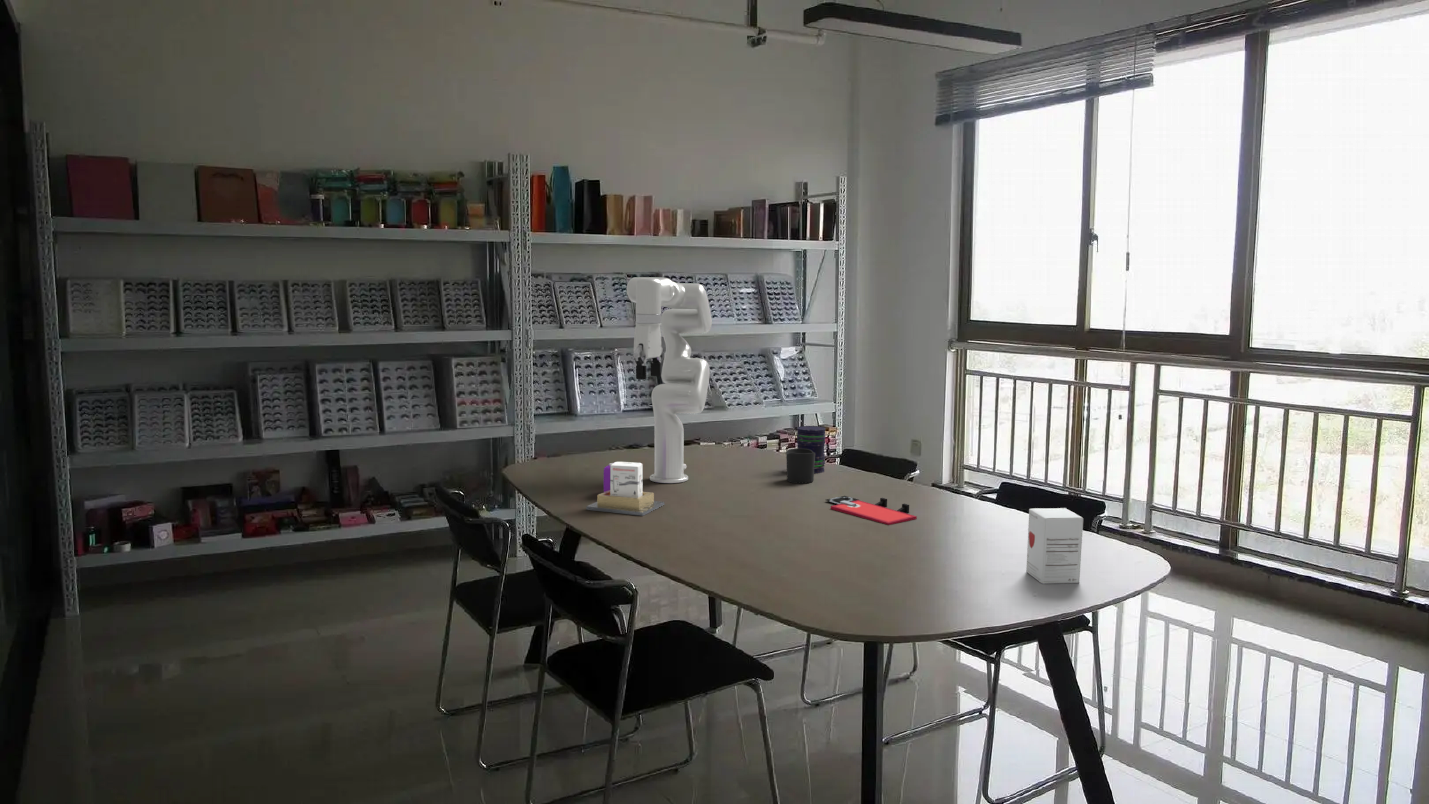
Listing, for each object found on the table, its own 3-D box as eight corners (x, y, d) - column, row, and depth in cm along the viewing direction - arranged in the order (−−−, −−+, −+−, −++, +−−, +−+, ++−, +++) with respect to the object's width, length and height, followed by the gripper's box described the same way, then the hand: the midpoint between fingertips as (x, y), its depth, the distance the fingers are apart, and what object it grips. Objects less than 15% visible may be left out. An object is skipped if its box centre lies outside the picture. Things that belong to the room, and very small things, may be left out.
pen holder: (819, 480, 321) (820, 450, 320) (806, 485, 313) (807, 454, 312) (794, 477, 326) (794, 447, 325) (780, 481, 318) (781, 451, 317)
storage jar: (797, 467, 342) (797, 425, 341) (825, 468, 341) (826, 426, 339) (795, 473, 333) (796, 429, 331) (824, 473, 331) (825, 430, 329)
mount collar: (609, 499, 291) (609, 486, 291) (664, 505, 285) (664, 491, 284) (586, 509, 279) (586, 496, 278) (642, 515, 272) (642, 501, 271)
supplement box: (1024, 571, 223) (1027, 507, 221) (1062, 571, 223) (1066, 507, 222) (1041, 584, 214) (1044, 517, 212) (1080, 583, 214) (1084, 517, 213)
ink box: (609, 504, 280) (608, 464, 279) (614, 501, 285) (614, 461, 284) (638, 506, 278) (638, 465, 277) (643, 502, 283) (643, 462, 282)
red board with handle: (849, 497, 297) (812, 505, 288) (849, 488, 296) (812, 496, 287) (925, 519, 273) (888, 528, 264) (925, 509, 273) (888, 518, 264)
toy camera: (645, 489, 306) (645, 458, 305) (637, 499, 292) (637, 466, 291) (611, 488, 307) (611, 457, 306) (602, 498, 293) (601, 465, 292)
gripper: (650, 318, 298) (650, 374, 300) (623, 320, 282) (623, 379, 284) (672, 319, 295) (672, 375, 297) (646, 321, 279) (647, 381, 281)
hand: (648, 377), depth 291 cm, fingers open, 9 cm apart
